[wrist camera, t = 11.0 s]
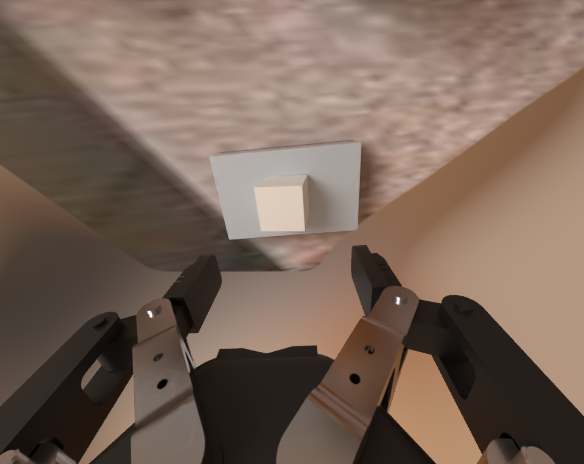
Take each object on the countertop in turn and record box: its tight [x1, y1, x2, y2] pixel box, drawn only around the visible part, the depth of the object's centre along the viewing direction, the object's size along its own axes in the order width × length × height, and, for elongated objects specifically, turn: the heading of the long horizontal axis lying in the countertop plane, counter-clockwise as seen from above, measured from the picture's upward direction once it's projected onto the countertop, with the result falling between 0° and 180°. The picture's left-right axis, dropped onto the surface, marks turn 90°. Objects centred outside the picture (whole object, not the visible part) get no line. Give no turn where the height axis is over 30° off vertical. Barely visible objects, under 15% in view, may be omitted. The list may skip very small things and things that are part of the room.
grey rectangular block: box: [209, 140, 361, 239], centre depth 27 cm, size 16×10×4 cm, turn 95°
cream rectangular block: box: [254, 174, 309, 231], centre depth 24 cm, size 4×4×8 cm
